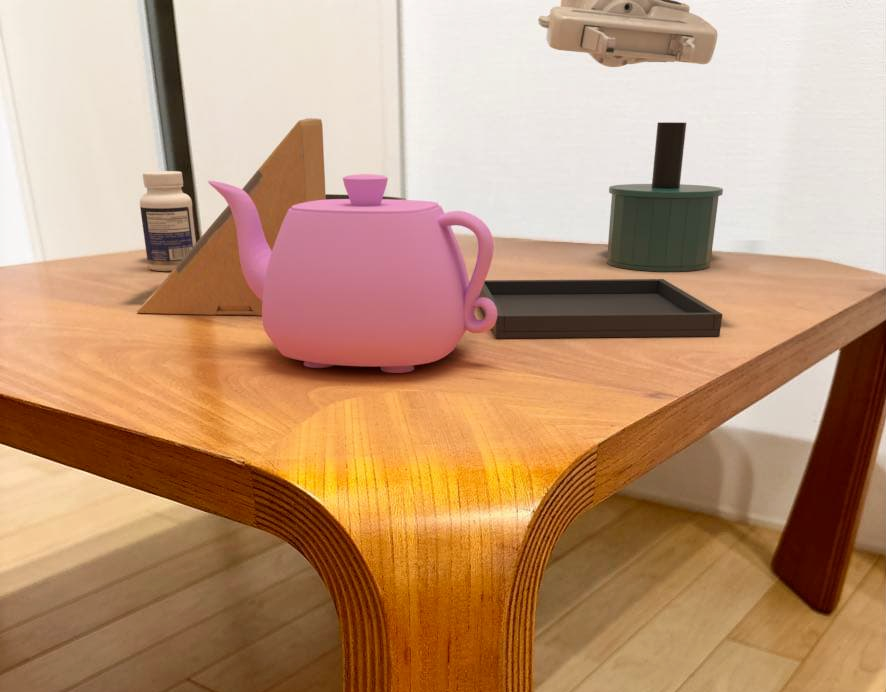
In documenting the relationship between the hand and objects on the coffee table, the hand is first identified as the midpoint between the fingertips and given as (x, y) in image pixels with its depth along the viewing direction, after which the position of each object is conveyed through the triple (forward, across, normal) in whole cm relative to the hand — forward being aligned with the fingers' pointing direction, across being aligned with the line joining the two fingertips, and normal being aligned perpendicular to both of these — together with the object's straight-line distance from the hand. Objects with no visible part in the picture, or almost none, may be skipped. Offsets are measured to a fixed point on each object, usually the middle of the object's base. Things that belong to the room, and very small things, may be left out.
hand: (648, 50), depth 103 cm
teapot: (+54, -35, +12) cm, 65 cm away
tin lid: (+13, +1, +12) cm, 18 cm away
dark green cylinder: (+15, +1, +19) cm, 24 cm away
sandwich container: (+34, -44, +17) cm, 59 cm away
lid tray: (+42, -15, +13) cm, 47 cm away
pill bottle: (+12, -52, +24) cm, 59 cm away
